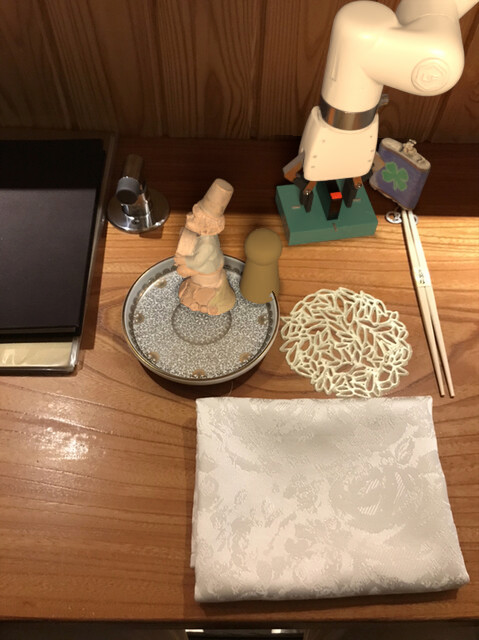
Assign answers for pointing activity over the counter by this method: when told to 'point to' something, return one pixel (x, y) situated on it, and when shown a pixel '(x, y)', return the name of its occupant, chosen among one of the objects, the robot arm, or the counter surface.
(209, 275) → the figurine
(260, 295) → the cork
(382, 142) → the flask
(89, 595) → the counter surface
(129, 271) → the counter surface
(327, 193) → the clamp handle
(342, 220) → the base
